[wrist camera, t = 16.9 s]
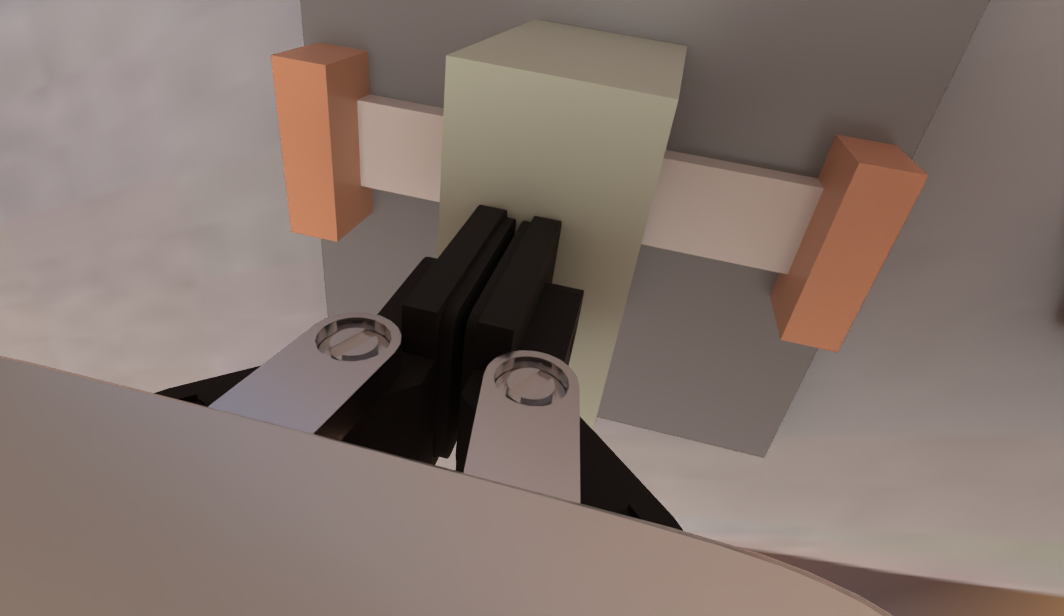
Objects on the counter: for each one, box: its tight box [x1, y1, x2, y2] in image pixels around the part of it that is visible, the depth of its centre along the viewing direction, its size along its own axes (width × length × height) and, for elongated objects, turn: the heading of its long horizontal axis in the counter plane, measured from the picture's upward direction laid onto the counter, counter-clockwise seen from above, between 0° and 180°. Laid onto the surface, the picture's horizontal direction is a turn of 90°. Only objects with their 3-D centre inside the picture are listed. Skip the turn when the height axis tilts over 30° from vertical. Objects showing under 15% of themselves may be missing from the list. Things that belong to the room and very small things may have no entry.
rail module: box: [437, 19, 687, 430], centre depth 14 cm, size 4×8×6 cm, turn 173°
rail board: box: [271, 0, 990, 458], centre depth 17 cm, size 17×18×4 cm
